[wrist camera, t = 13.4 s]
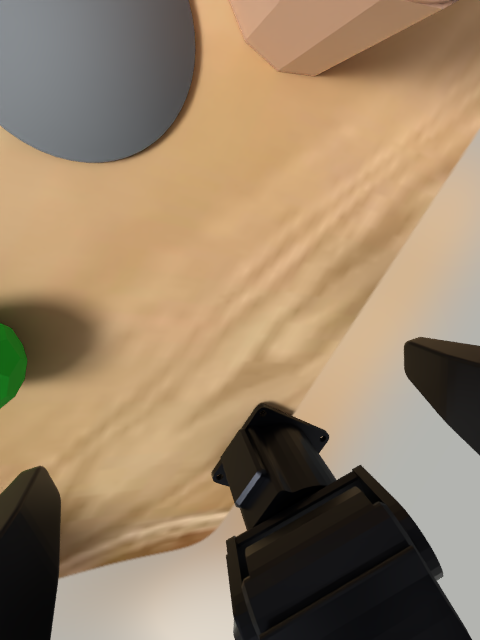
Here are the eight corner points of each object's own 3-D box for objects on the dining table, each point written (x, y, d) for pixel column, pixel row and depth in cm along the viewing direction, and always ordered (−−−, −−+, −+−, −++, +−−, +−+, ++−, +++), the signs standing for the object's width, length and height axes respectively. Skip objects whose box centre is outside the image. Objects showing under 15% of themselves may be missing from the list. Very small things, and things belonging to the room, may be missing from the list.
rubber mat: (235, 9, 17) (236, 6, 17) (129, 204, 19) (129, 205, 18) (-2, -213, 13) (-5, -222, 13) (-109, 62, 15) (-113, 60, 14)
